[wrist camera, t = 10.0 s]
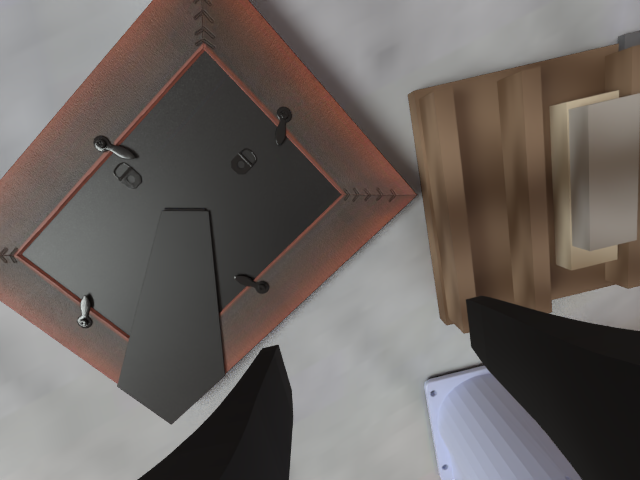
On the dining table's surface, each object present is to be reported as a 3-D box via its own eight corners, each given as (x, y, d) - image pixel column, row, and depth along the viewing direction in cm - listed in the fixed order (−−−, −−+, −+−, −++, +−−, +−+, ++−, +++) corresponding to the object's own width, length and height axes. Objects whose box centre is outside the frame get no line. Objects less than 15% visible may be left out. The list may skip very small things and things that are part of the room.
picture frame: (184, 398, 23) (404, 192, 20) (171, 426, 20) (419, 195, 18) (-24, 244, 19) (212, -27, 17) (-70, 255, 17) (198, -59, 15)
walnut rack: (602, 279, 22) (648, 296, 19) (440, 318, 22) (461, 341, 19) (602, 49, 19) (658, 28, 16) (407, 94, 18) (428, 81, 16)
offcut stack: (599, 254, 21) (637, 265, 18) (555, 264, 21) (588, 277, 18) (598, 94, 18) (642, 84, 16) (549, 106, 18) (586, 97, 16)
